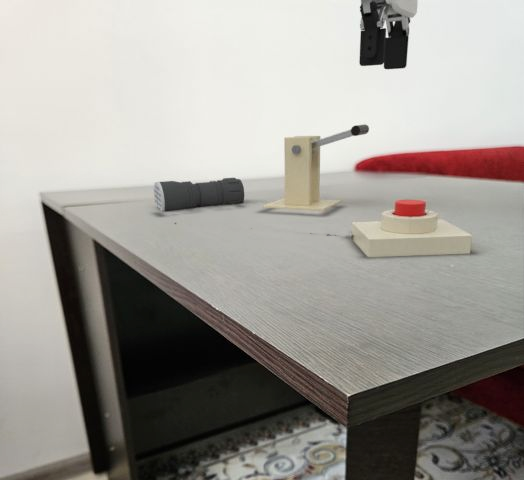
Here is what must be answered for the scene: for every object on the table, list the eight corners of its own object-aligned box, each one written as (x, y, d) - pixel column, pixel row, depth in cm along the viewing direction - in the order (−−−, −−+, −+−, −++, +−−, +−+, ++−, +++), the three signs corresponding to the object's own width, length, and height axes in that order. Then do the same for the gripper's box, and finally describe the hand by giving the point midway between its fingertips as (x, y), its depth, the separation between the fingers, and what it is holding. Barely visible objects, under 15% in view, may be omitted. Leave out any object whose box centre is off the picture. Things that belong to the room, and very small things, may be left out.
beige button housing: (440, 235, 70) (443, 205, 68) (470, 254, 61) (474, 219, 59) (351, 238, 70) (352, 208, 68) (367, 258, 61) (370, 223, 59)
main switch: (370, 135, 83) (367, 120, 82) (361, 137, 79) (358, 120, 78) (302, 156, 89) (299, 142, 89) (290, 159, 85) (287, 144, 85)
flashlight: (236, 204, 98) (235, 174, 95) (247, 208, 93) (246, 177, 91) (155, 212, 92) (152, 180, 90) (163, 217, 88) (160, 183, 85)
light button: (419, 213, 65) (420, 198, 65) (428, 218, 62) (430, 203, 61) (390, 214, 65) (391, 199, 65) (398, 219, 62) (399, 204, 61)
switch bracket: (341, 207, 92) (343, 134, 87) (323, 216, 84) (325, 138, 80) (283, 204, 96) (283, 135, 91) (262, 212, 89) (260, 138, 84)
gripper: (402, -119, 56) (390, 61, 63) (440, -77, 70) (427, 68, 77) (337, -104, 60) (333, 65, 67) (386, -67, 73) (378, 71, 80)
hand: (383, 67), depth 72 cm, fingers open, 9 cm apart
